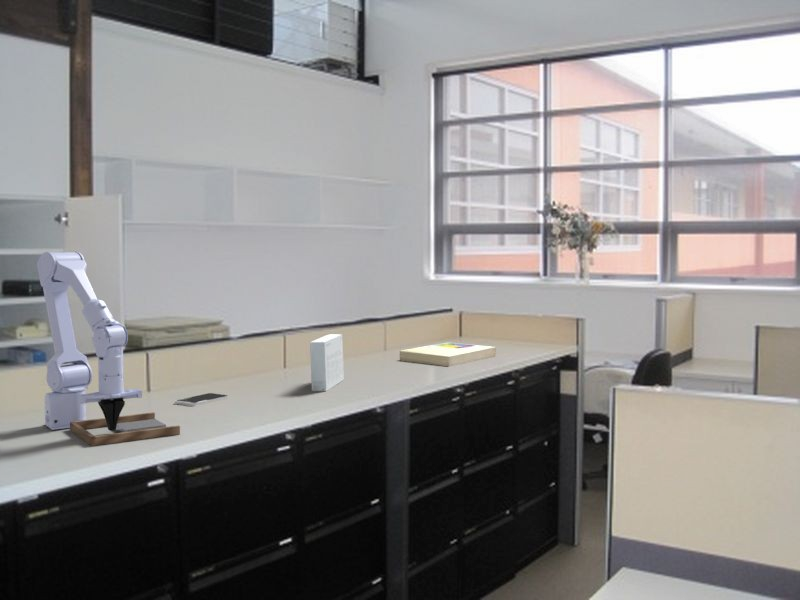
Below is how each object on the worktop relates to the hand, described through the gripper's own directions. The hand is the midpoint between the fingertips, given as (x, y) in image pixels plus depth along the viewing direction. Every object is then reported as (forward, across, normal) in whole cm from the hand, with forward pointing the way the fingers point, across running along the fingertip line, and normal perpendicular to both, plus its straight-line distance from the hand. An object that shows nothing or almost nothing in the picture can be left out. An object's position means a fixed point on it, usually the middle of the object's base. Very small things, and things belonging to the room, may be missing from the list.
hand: (111, 429), depth 201 cm
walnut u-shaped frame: (+1, +3, 0) cm, 3 cm away
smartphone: (+2, +34, +27) cm, 44 cm away
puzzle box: (+2, +151, +56) cm, 161 cm away
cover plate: (+2, +7, 0) cm, 7 cm away
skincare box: (+1, +78, +29) cm, 83 cm away
